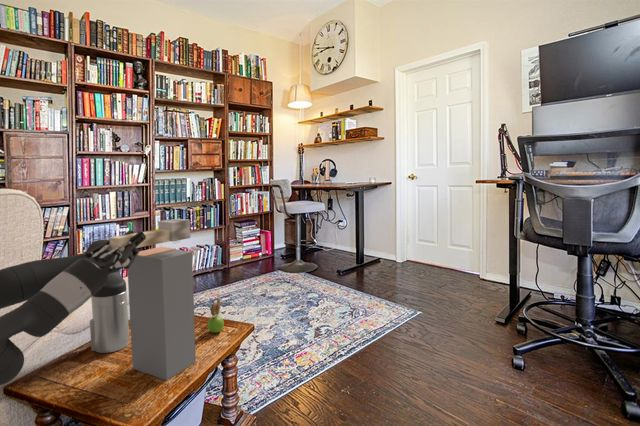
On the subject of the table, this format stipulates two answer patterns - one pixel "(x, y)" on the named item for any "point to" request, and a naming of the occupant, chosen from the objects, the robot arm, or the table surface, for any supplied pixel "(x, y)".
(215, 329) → the snail figurine
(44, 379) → the table surface
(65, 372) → the table surface
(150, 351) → the pedestal
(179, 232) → the beam
